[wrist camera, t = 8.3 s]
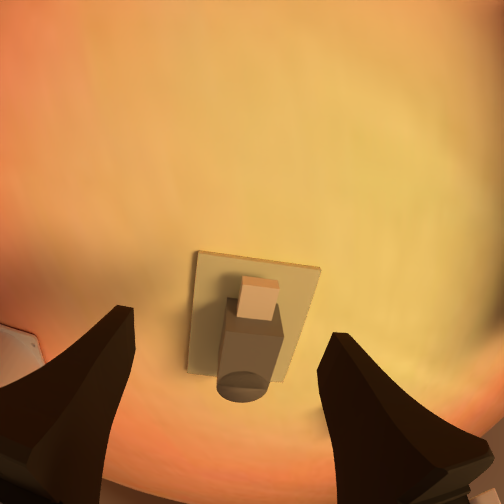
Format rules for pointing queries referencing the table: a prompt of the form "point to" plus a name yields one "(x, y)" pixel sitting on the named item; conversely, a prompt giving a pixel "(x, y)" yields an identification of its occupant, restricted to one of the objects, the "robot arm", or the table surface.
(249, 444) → the table surface
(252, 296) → the tan-capped grey bottle
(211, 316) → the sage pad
